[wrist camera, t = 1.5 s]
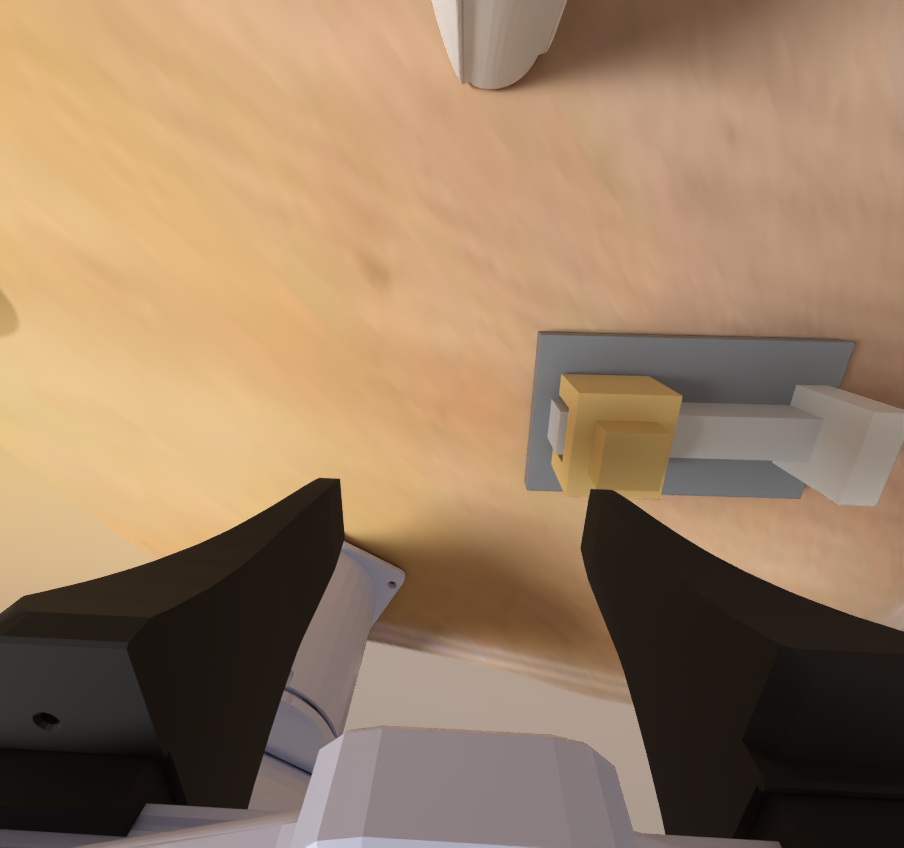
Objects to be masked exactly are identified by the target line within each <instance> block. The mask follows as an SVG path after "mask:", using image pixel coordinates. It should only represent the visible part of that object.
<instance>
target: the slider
mask: <svg viewBox="0 0 904 848" xmlns="http://www.w3.org/2000/svg"><path fill="white" fill-rule="evenodd" d="M559 395H560V397H561V398H562V399H563V401H564V402H565V403H566V405H567V406H568V407H569V411H568V419H567V428H566V436H565V444H564V452H563V454H555V452H554V450H553V451H552V460H551V465H552V467H553V469H554V472H555V474H556V476H557V478H558V481H559V483H560V485H561V487H562V490H563V492H564V494H565V497H589V494H590V489H606V490H613V491H615V492H617V493H619V494H620V495H622V496H623V497H625V498H626V499H654V500H660V497H661V492H662V488H663V483H664V479H665V474H666V470H667V465H668V461H669V456H670V452H671V447H672V442H673V438H674V433H675V429H676V424H677V420H678V415H679V411H680V406H681V402H682V397H683V396H682V395H680V394H679V393H677V392H675V391H673V390H672V389H670V388H668V387H667V386H665V385H663V384H662V383H660V382H658V381H656V380H655V379H653V378H651V377H650V376H629V375H591V374H561V381H560V390H559Z"/></svg>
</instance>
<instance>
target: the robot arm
mask: <svg viewBox="0 0 904 848" xmlns="http://www.w3.org/2000/svg"><path fill="white" fill-rule="evenodd" d="M344 539H345V536H344V523H343V511H342V499H341V487H340V479H331V478H318V479H316V480H314V481H312V482H311V483H309V484H307V485H305V486H304V487H302V488H301V489H299V490H297V491H296V492H294V493H293V494H291V495H289V496H288V497H286V498H284V499H283V500H281V501H280V502H278V503H276V504H275V505H273V506H271V507H270V508H268V509H266V510H265V511H263V512H261V513H259V514H257V515H256V516H254V517H252V518H250V519H248V520H247V521H245V522H243V523H241V524H239V525H238V526H236V527H234V528H232V529H230V530H228V531H226V532H224V533H222V534H220V535H217V536H215V537H213V538H211V539H209V540H206V541H204V542H202V543H200V544H197V545H195V546H193V547H190V548H187V549H185V550H182V551H179V552H177V553H174V554H171V555H169V556H166V557H164V558H161V559H158V560H156V561H153V562H150V563H147V564H144V565H141V566H138V567H135V568H132V569H128V570H125V571H122V572H118V573H115V574H111V575H108V576H105V577H101V578H97V579H94V580H90V581H86V582H82V583H78V584H74V585H70V586H66V587H61V588H57V589H53V590H49V591H44V592H40V593H36V594H31V595H26V596H23V597H22V598H20V599H19V600H18V601H16V602H15V603H14V604H12V605H11V606H10V607H9V608H7V609H6V610H5V611H3V612H2V613H1V614H0V848H904V632H903V631H900V630H897V629H894V628H890V627H887V626H884V625H881V624H878V623H874V622H871V621H868V620H865V619H862V618H858V617H855V616H853V615H850V614H847V613H844V612H841V611H839V610H836V609H833V608H831V607H828V606H825V605H822V604H820V603H817V602H814V601H812V600H809V599H807V598H804V597H802V596H799V595H797V594H794V593H792V592H789V591H787V590H785V589H782V588H780V587H778V586H776V585H773V584H771V583H769V582H766V581H764V580H762V579H760V578H758V577H755V576H753V575H751V574H749V573H747V572H745V571H743V570H741V569H739V568H737V567H735V566H733V565H731V564H729V563H727V562H726V561H724V560H722V559H720V558H718V557H716V556H714V555H712V554H711V553H709V552H707V551H705V550H704V549H702V548H700V547H699V546H697V545H695V544H694V543H692V542H690V541H689V540H687V539H685V538H684V537H682V536H681V535H679V534H678V533H676V532H674V531H673V530H671V529H670V528H668V527H667V526H665V525H664V524H662V523H661V522H659V521H658V520H656V519H655V518H654V517H652V516H651V515H649V514H648V513H646V512H645V511H644V510H642V509H641V508H639V507H638V506H636V505H635V504H634V503H632V502H631V501H629V500H628V499H626V498H625V497H623V496H622V495H620V494H619V493H617V492H615V491H613V490H606V489H590V494H589V500H588V507H587V513H586V519H585V525H584V531H583V537H582V543H581V552H582V556H583V561H584V565H585V569H586V573H587V577H588V580H589V583H590V585H591V588H592V591H593V593H594V596H595V598H596V601H597V603H598V606H599V608H600V611H601V613H602V616H603V618H604V621H605V623H606V626H607V628H608V631H609V633H610V636H611V638H612V641H613V643H614V645H615V648H616V650H617V653H618V656H619V659H620V661H621V664H622V667H623V670H624V673H625V677H626V680H627V684H628V687H629V691H630V694H631V698H632V701H633V705H634V708H635V711H636V715H637V719H638V723H639V727H640V730H641V734H642V738H643V742H644V745H645V749H646V753H647V757H648V761H649V765H650V770H651V773H652V778H653V782H654V786H655V790H656V794H657V799H658V802H659V807H660V811H661V815H662V820H663V825H664V830H665V834H666V835H659V834H642V833H639V832H636V831H633V829H632V825H631V821H630V818H629V814H628V811H627V808H626V804H625V801H624V798H623V794H622V790H621V787H620V783H619V780H618V776H617V773H616V769H615V767H614V765H612V764H611V763H610V762H608V761H607V760H606V759H605V758H604V757H603V756H601V755H600V754H599V753H598V752H596V751H595V750H594V749H593V748H592V747H590V746H589V745H587V744H585V743H583V742H579V741H575V740H570V739H567V738H562V737H558V736H554V735H548V734H547V735H546V734H529V733H510V732H493V731H474V730H455V729H438V728H420V727H402V726H377V727H369V728H361V729H353V730H350V731H348V732H346V733H344V734H343V731H344V726H345V722H346V719H347V715H348V711H349V708H350V704H351V700H352V696H353V692H354V688H355V684H356V680H357V677H358V673H359V669H360V665H361V661H362V657H363V653H364V650H365V646H366V642H367V638H368V634H369V631H370V629H371V628H372V626H373V625H374V623H375V622H376V621H377V619H378V618H379V616H380V615H381V614H382V612H383V611H384V609H385V608H386V607H387V605H388V604H389V602H390V601H391V599H392V598H393V597H394V595H395V594H396V592H397V591H398V590H399V588H400V587H401V585H402V584H403V583H404V580H405V573H404V571H402V570H401V569H399V568H397V567H395V566H393V565H391V564H389V563H387V562H385V561H383V560H381V559H379V558H377V557H375V556H373V555H371V554H369V553H367V552H365V551H363V550H361V549H359V548H357V547H355V546H353V545H351V544H349V543H347V542H345V541H344ZM391 581H392V582H395V583H396V584H391V583H390V582H391Z"/></svg>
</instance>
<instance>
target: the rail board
mask: <svg viewBox="0 0 904 848" xmlns="http://www.w3.org/2000/svg"><path fill="white" fill-rule="evenodd" d="M854 345H855V342H850V341H845V340H839V339H816V338H775V337H735V336H694V335H653V334H612V333H572V332H538V339H537V350H536V361H535V372H534V383H533V394H532V405H531V416H530V427H529V439H528V450H527V461H526V472H525V484H526V488H527V490H529V491H562V492H563V490H562V487H561V485H560V483H559V481H558V478H557V476H556V474H555V472H554V469H553V467H552V465H551V460H552V451H553V450H554V452H555V454H563V452H564V444H565V436H566V428H567V419H568V411H569V407H568V406H567V405H566V403H565V402H564V401H563V399H562V398H561V397H560V395H559V390H560V381H561V374H591V375H629V376H650V377H651V378H653V379H655V380H656V381H658V382H660V383H662V384H663V385H665V386H667V387H668V388H670V389H672V390H673V391H675V392H677V393H679V394H680V395H682V396H683V397H682V402H681V406H680V411H679V415H678V420H677V424H676V429H675V433H674V438H673V442H672V447H671V452H670V456H669V461H668V465H667V470H666V474H665V479H664V483H663V488H662V492H661V495H691V496H723V497H755V498H788V499H800V498H801V495H802V493H803V490H804V487H805V484H807V485H808V486H810V487H811V488H813V489H815V490H816V491H818V492H819V493H821V494H822V495H824V496H826V497H827V498H829V499H830V500H832V501H834V502H835V503H837V504H838V505H858V506H876V505H877V503H878V500H879V498H880V496H881V493H882V491H883V489H884V486H885V484H886V482H887V479H888V477H889V475H890V472H891V470H892V468H893V465H894V463H895V461H896V458H897V456H898V454H899V451H900V449H901V447H902V444H903V442H904V410H903V409H900V408H897V407H894V406H891V405H888V404H885V403H882V402H878V401H875V400H872V399H869V398H866V397H863V396H860V395H857V394H854V393H851V392H848V391H845V390H841V389H839V388H840V385H841V382H842V379H843V376H844V374H845V371H846V368H847V365H848V362H849V359H850V357H851V354H852V351H853V348H854Z"/></svg>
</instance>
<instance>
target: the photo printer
mask: <svg viewBox="0 0 904 848" xmlns="http://www.w3.org/2000/svg"><path fill="white" fill-rule="evenodd" d="M431 1H432V5H433V8H434V12H435V15H436V19H437V22H438V25H439V29H440V32H441V35H442V39H443V42H444V45H445V48H446V51H447V54H448V56H449V59H450V61H451V64H452V66H453V69H454V71H455V73H456V75H457V77H458V79H459V81H460V83H461V84H465V83H467V82H470V83H471V84H472V85H473V86H476V87H479V88H483V89H499V88H503V87H507V86H509V85H511V84H513V83H515V82H516V81H518V80H519V79H520V78H522V77H523V76H524V75H525V74H526V73H527V72H528V71H529V69H530V68H531V67H532V65H533V64H534V62H535V60H536V58H537V57H538V55H540V54H543V53H546V52H547V51H548V49H549V47H550V46H551V44H552V41H553V39H554V36H555V34H556V31H557V28H558V25H559V23H560V19H561V17H562V14H563V11H564V8H565V6H566V3H567V0H431Z"/></svg>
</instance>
